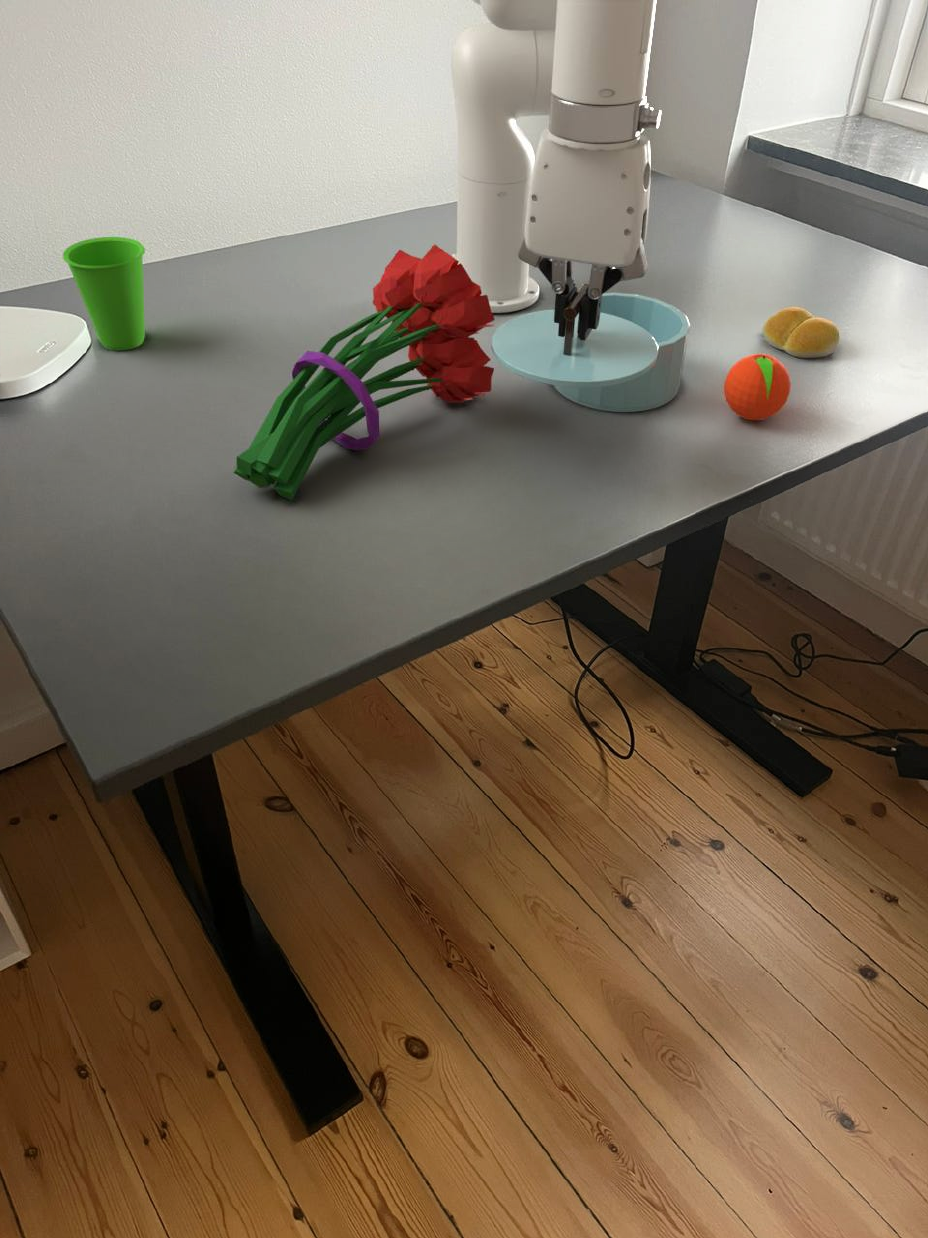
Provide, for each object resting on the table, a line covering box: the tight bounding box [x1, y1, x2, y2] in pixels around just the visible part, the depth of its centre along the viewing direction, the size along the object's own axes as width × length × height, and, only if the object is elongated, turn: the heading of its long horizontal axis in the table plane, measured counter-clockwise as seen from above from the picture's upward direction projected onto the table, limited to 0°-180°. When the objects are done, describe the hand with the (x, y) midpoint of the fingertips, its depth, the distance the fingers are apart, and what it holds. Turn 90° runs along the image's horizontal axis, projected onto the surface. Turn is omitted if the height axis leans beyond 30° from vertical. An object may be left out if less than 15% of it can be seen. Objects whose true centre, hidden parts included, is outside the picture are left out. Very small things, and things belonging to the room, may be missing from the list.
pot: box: [553, 292, 691, 413], centre depth 114 cm, size 15×15×8 cm
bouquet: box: [233, 243, 495, 501], centre depth 101 cm, size 20×16×30 cm
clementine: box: [723, 353, 792, 421], centre depth 108 cm, size 8×7×7 cm
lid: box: [490, 283, 658, 387], centre depth 94 cm, size 16×16×6 cm
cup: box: [62, 236, 146, 351], centre depth 119 cm, size 9×9×11 cm
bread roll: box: [762, 306, 840, 359], centre depth 124 cm, size 8×9×4 cm
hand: (575, 331), depth 94 cm, fingers closed on lid, 1 cm apart
